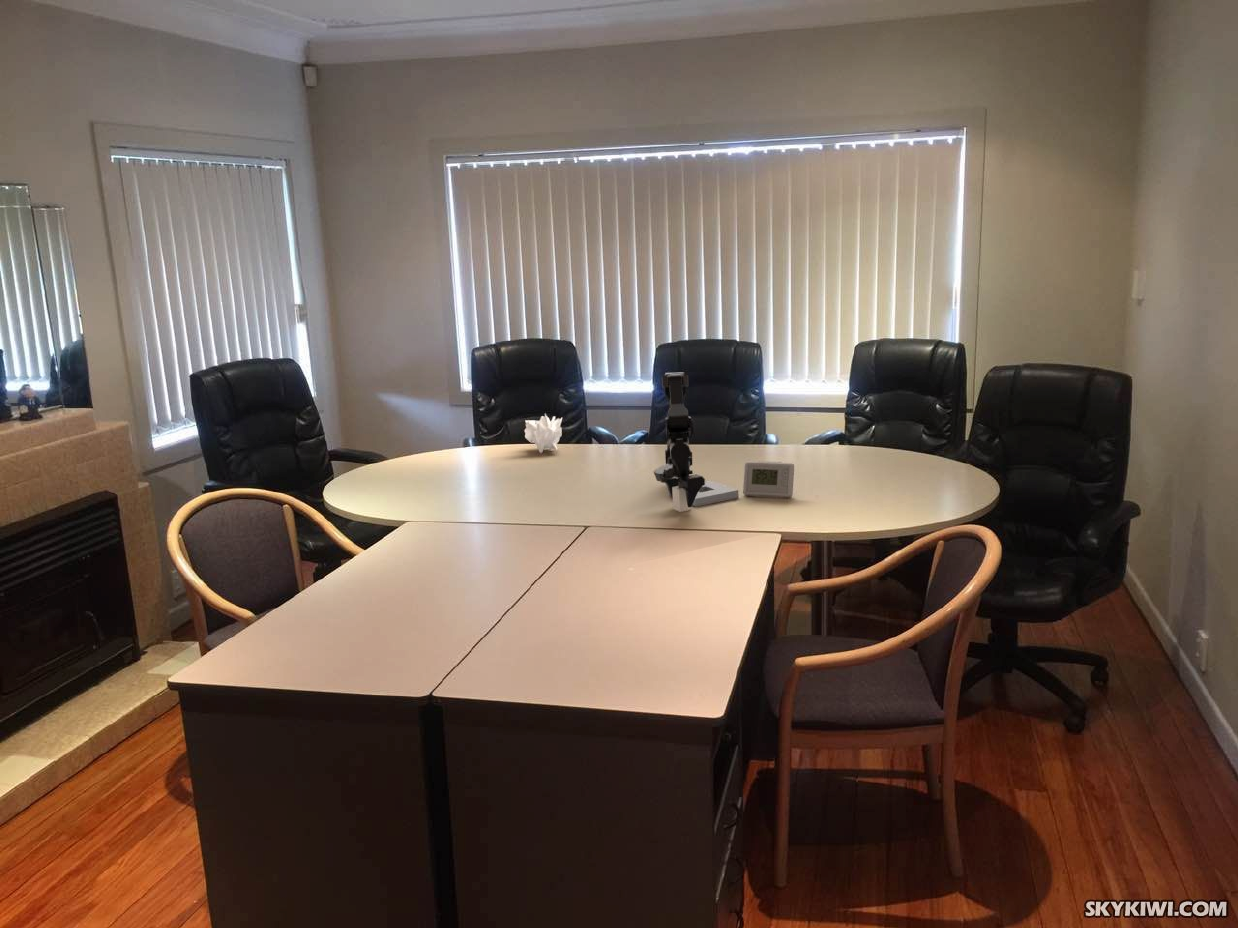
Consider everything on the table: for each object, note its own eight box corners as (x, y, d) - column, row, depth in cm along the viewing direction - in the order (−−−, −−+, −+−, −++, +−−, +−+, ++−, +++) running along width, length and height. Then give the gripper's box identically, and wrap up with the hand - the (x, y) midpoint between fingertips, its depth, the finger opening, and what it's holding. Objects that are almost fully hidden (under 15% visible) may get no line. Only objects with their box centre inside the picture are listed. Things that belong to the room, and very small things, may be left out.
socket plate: (669, 496, 332) (668, 488, 331) (710, 487, 339) (710, 480, 338) (695, 506, 318) (695, 498, 317) (738, 497, 325) (738, 490, 324)
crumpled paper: (576, 418, 407) (547, 399, 399) (562, 456, 401) (532, 438, 393) (549, 425, 423) (520, 408, 415) (535, 462, 416) (506, 445, 409)
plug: (673, 509, 316) (671, 480, 314) (684, 506, 318) (683, 478, 316) (680, 511, 313) (678, 483, 311) (691, 509, 315) (689, 481, 313)
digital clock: (740, 496, 327) (739, 463, 324) (753, 489, 334) (752, 457, 332) (787, 501, 318) (786, 468, 315) (799, 494, 325) (798, 461, 323)
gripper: (641, 453, 316) (644, 502, 320) (672, 463, 300) (675, 515, 303) (672, 448, 321) (674, 496, 325) (705, 458, 305) (706, 508, 309)
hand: (681, 503), depth 315 cm, fingers open, 9 cm apart
